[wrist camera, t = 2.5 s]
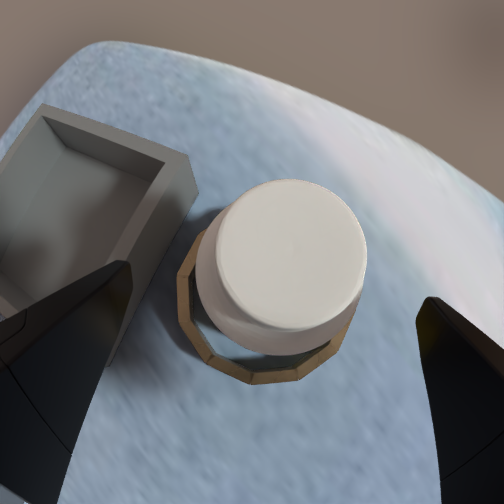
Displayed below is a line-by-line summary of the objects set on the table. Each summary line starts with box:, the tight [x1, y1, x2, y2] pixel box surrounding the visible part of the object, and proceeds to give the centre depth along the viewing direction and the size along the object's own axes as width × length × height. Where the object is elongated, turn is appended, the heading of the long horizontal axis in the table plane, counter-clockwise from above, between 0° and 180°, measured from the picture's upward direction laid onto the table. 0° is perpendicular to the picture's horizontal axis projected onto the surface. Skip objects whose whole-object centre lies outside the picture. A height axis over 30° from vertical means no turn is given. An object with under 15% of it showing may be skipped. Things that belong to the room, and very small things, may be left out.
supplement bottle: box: [196, 179, 367, 356], centre depth 13 cm, size 6×6×10 cm
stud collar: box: [177, 229, 356, 385], centre depth 17 cm, size 9×9×2 cm
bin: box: [0, 103, 199, 367], centre depth 16 cm, size 12×12×4 cm
